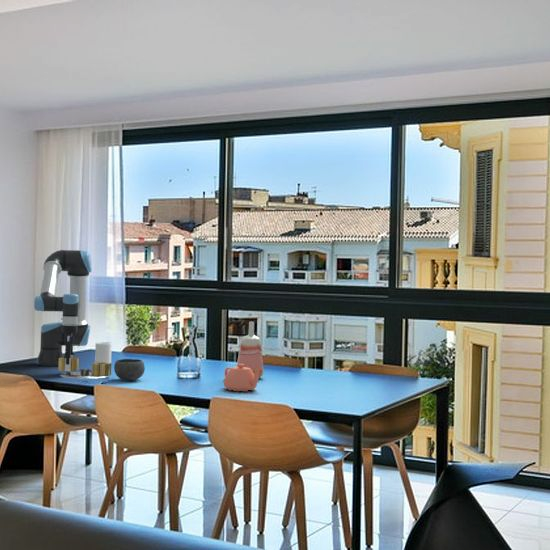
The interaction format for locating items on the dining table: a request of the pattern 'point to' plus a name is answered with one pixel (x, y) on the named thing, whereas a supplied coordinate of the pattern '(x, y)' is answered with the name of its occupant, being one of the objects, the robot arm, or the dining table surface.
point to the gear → (73, 364)
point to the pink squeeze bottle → (251, 351)
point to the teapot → (241, 378)
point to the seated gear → (101, 369)
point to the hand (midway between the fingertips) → (68, 369)
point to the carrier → (81, 375)
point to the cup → (103, 352)
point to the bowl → (129, 369)
